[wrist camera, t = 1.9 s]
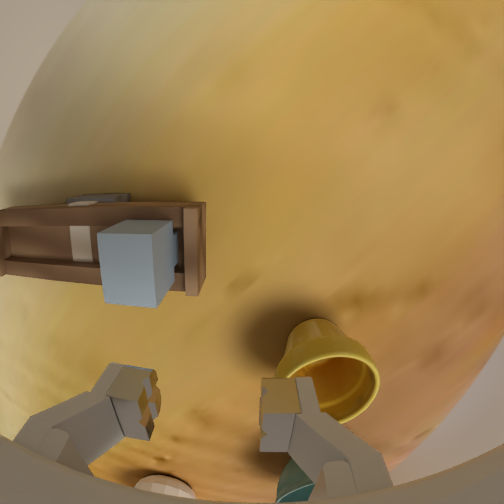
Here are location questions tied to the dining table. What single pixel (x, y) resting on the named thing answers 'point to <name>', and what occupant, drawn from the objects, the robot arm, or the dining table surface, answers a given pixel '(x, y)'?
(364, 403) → the plant pot
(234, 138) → the dining table surface
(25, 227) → the beam
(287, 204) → the dining table surface
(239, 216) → the dining table surface
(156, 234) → the block
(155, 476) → the white vase
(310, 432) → the robot arm
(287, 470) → the flower pot
